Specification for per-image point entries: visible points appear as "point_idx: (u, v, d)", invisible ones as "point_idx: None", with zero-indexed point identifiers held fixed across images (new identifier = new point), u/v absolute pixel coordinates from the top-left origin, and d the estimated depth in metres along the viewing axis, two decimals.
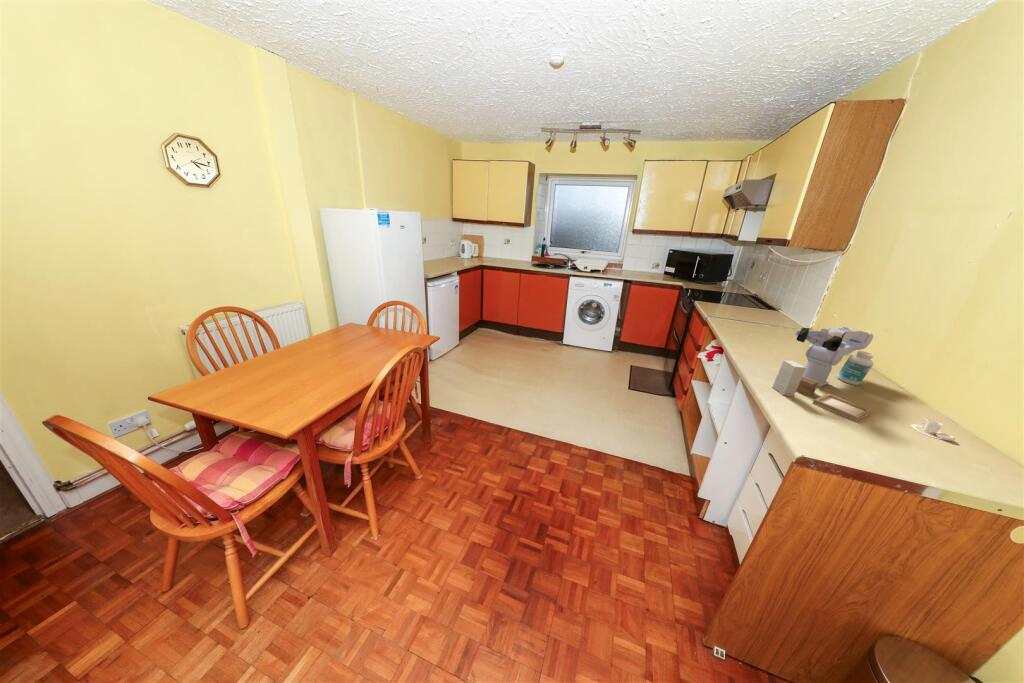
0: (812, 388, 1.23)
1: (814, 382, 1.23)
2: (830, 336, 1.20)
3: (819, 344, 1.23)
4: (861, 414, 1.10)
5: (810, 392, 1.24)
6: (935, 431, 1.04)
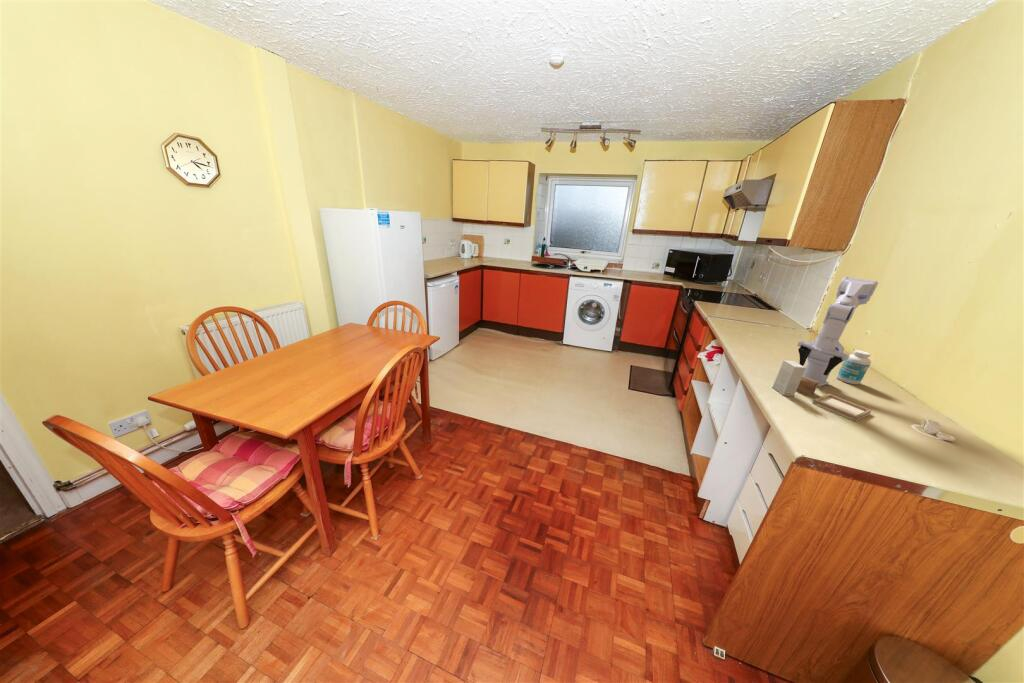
0: (812, 388, 1.23)
1: (814, 382, 1.23)
2: (828, 352, 1.18)
3: None
4: (861, 414, 1.10)
5: (810, 392, 1.24)
6: (935, 431, 1.04)
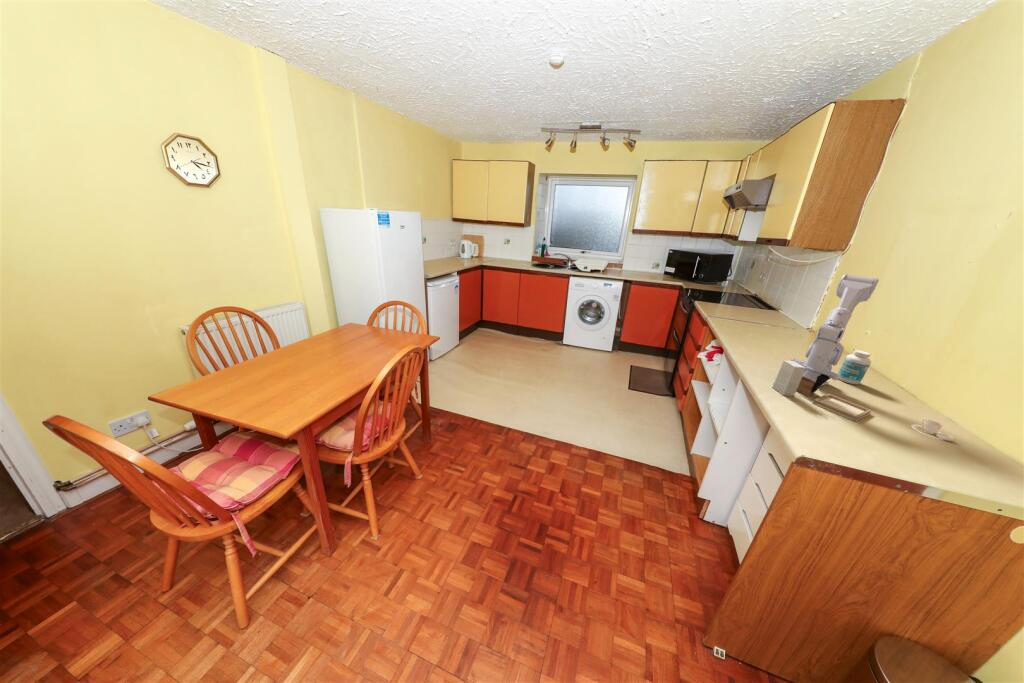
0: (812, 388, 1.23)
1: (814, 382, 1.23)
2: None
3: None
4: (861, 414, 1.10)
5: (810, 392, 1.24)
6: (935, 431, 1.04)
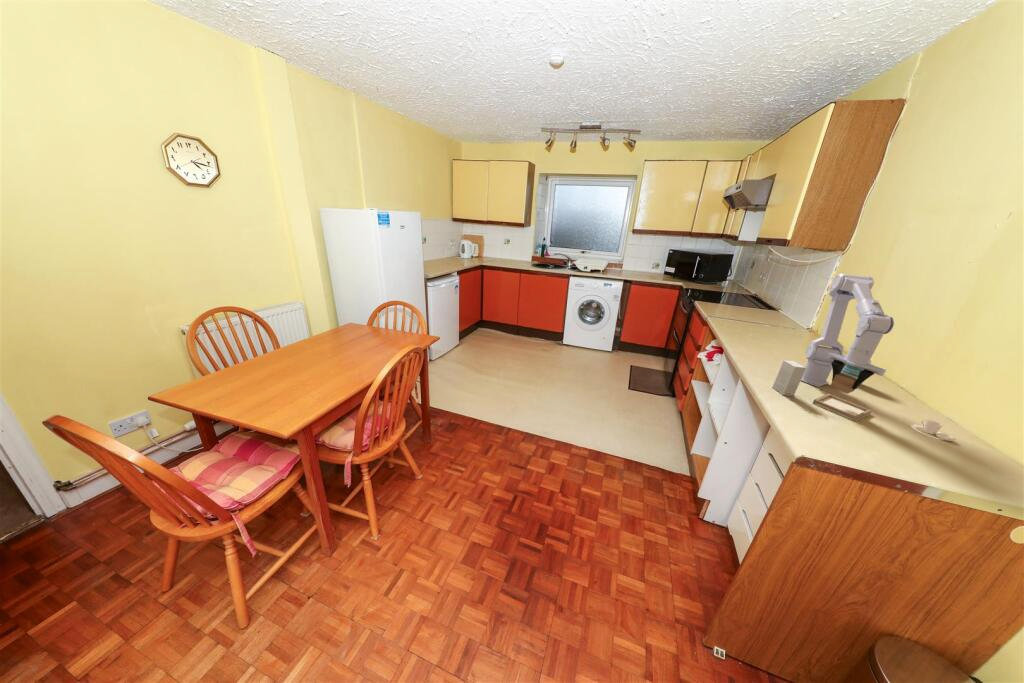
0: None
1: (855, 378, 1.12)
2: (861, 366, 1.09)
3: None
4: (861, 414, 1.10)
5: (850, 389, 1.12)
6: (935, 431, 1.04)
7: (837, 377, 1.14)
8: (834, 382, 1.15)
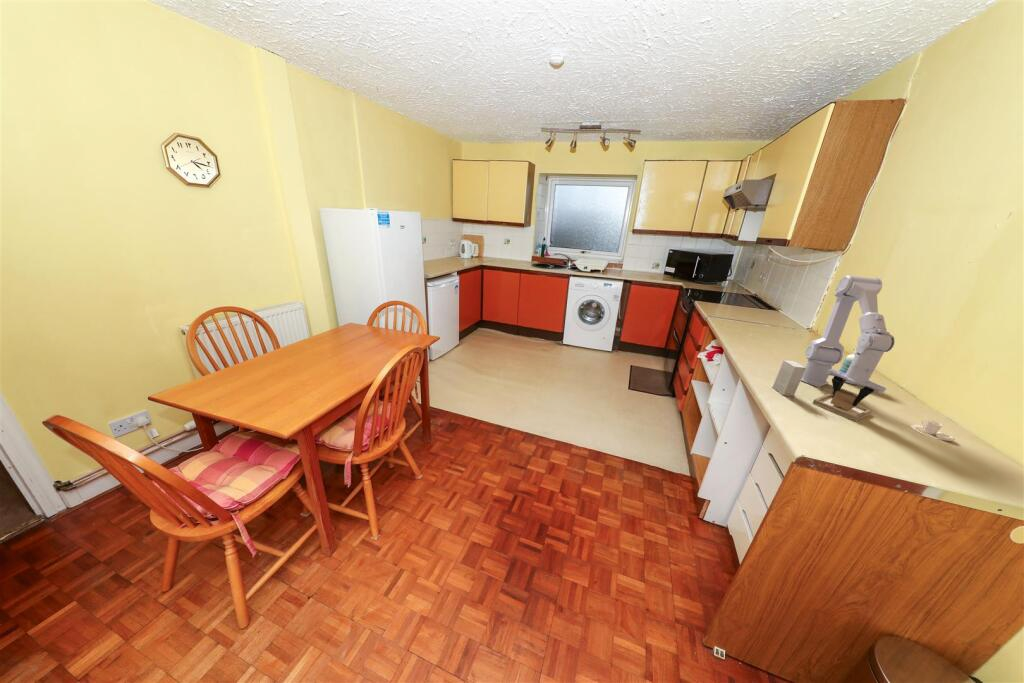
0: (853, 402, 1.12)
1: (855, 395, 1.12)
2: None
3: None
4: (861, 414, 1.10)
5: (851, 406, 1.13)
6: (935, 431, 1.04)
7: (837, 394, 1.14)
8: (834, 398, 1.15)
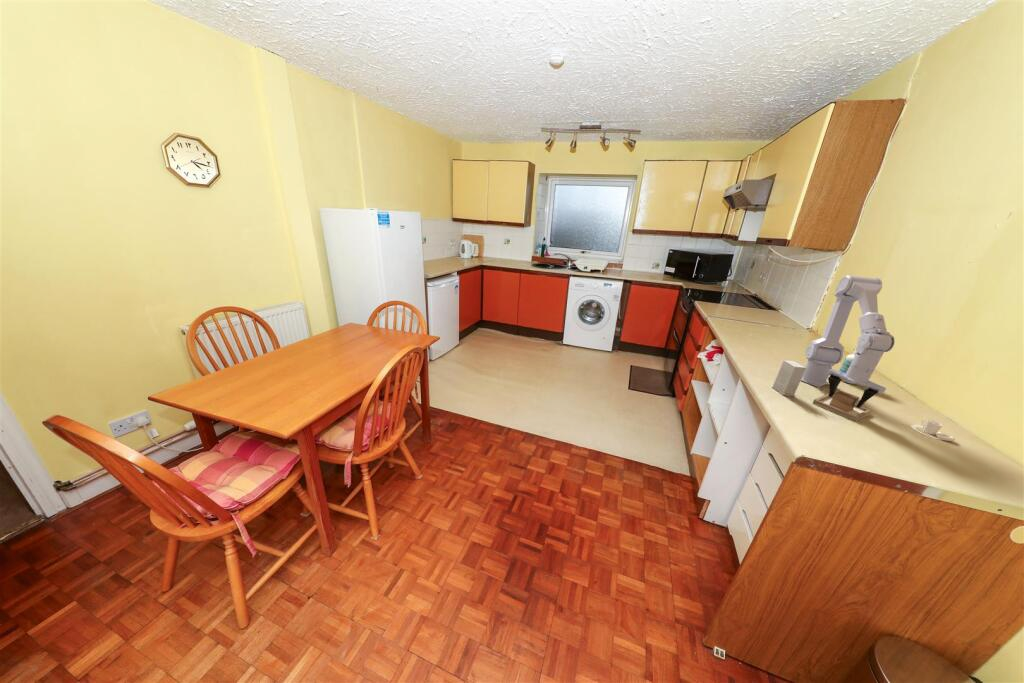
0: (852, 404, 1.12)
1: (854, 397, 1.12)
2: None
3: None
4: (861, 414, 1.10)
5: (850, 408, 1.13)
6: (935, 431, 1.04)
7: (836, 396, 1.15)
8: (833, 400, 1.15)
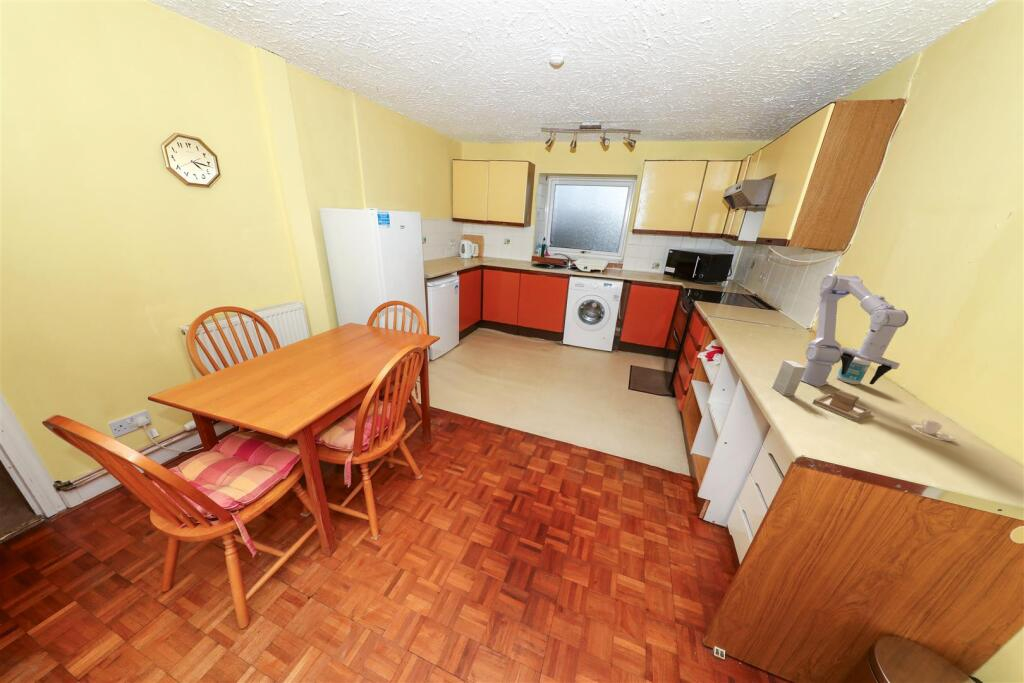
0: (852, 404, 1.12)
1: (854, 397, 1.12)
2: (875, 360, 1.10)
3: None
4: (861, 414, 1.10)
5: (850, 408, 1.13)
6: (935, 432, 1.04)
7: (836, 396, 1.15)
8: (833, 400, 1.15)
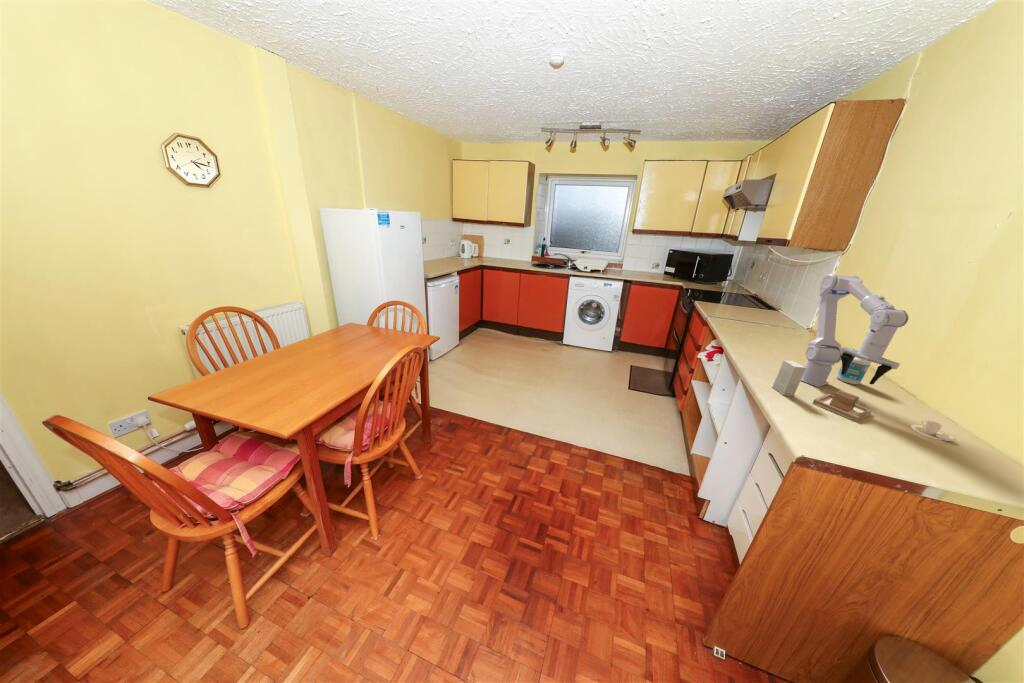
0: (852, 404, 1.12)
1: (854, 397, 1.12)
2: (875, 360, 1.10)
3: None
4: (861, 414, 1.10)
5: (850, 408, 1.13)
6: (935, 432, 1.04)
7: (836, 396, 1.15)
8: (833, 400, 1.15)
